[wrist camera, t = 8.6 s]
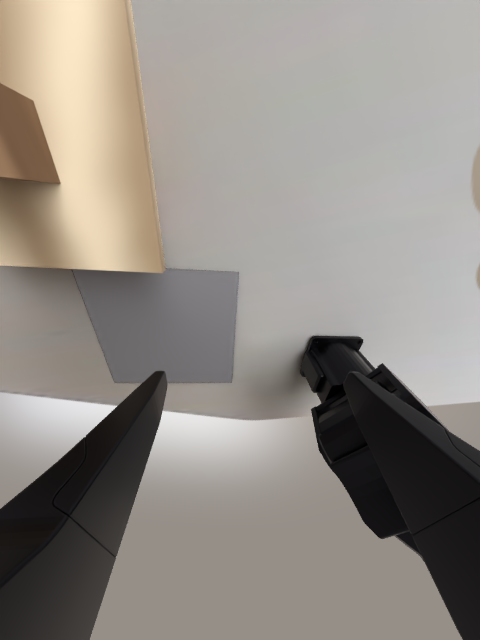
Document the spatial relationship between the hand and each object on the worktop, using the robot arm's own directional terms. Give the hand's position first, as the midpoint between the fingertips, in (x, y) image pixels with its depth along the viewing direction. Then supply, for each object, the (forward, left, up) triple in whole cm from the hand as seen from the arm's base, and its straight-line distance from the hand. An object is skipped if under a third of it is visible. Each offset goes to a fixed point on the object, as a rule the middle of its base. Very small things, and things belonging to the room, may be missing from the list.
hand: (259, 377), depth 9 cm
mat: (+8, +6, -12) cm, 16 cm away
